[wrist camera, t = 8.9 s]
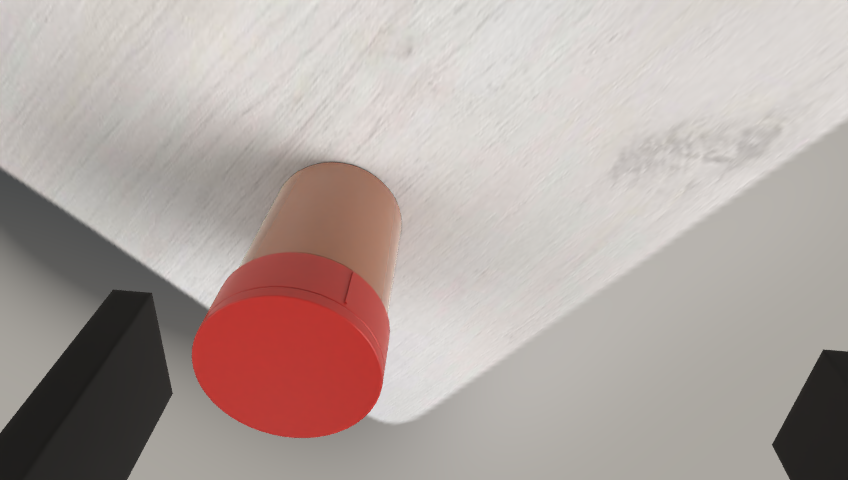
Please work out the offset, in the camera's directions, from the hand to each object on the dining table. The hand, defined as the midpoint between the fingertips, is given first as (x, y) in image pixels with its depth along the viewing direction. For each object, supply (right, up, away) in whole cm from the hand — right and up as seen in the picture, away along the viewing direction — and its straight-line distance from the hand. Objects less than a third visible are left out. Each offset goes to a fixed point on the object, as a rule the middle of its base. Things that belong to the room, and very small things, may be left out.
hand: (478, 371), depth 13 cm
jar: (-6, +4, +23) cm, 24 cm away
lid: (-7, -2, +13) cm, 15 cm away
